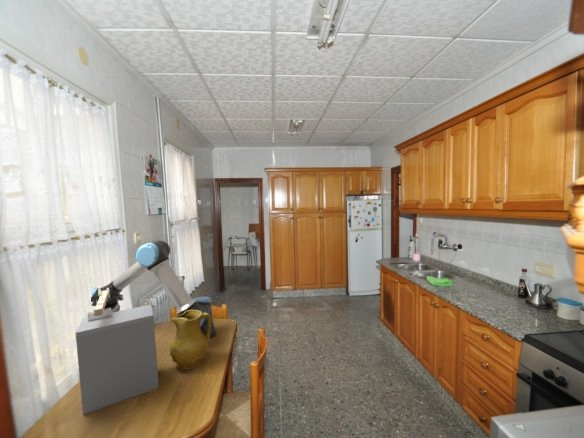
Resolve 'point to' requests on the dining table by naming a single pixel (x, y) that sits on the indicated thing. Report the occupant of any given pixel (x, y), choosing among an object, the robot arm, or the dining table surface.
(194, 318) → the pitcher
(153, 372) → the stand
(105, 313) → the ridge
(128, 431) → the dining table surface
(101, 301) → the rod
